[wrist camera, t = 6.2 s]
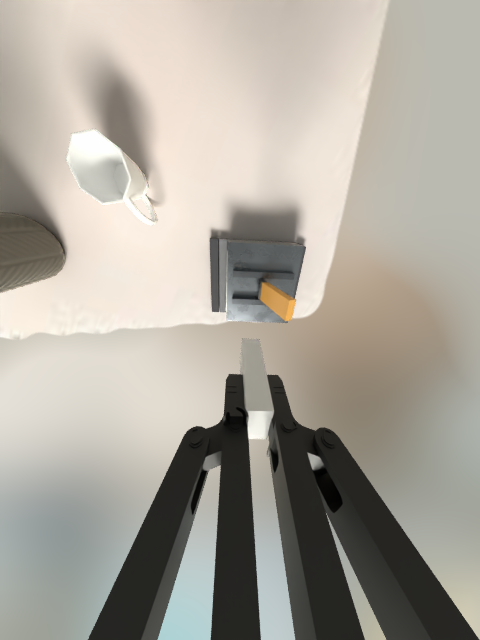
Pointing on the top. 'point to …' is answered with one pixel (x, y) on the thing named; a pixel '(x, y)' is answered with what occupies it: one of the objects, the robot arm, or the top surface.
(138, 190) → the cup
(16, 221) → the lamp
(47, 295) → the top surface
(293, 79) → the top surface
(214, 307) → the gray slab
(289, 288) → the box
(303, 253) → the dark gray bar
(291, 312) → the lever
